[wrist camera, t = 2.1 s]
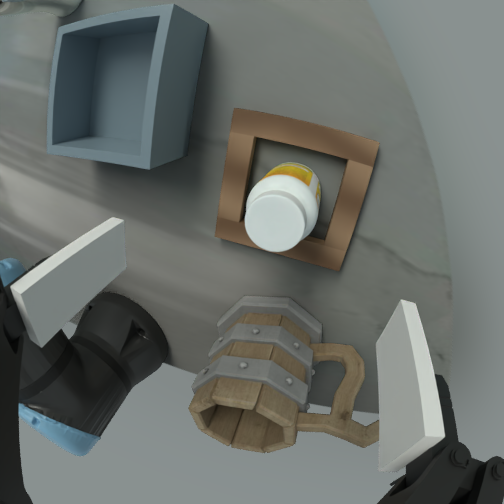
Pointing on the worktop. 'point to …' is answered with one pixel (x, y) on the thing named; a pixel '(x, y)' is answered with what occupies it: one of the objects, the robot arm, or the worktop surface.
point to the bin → (125, 86)
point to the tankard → (273, 379)
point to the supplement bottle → (283, 207)
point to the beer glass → (38, 7)
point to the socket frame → (308, 136)
